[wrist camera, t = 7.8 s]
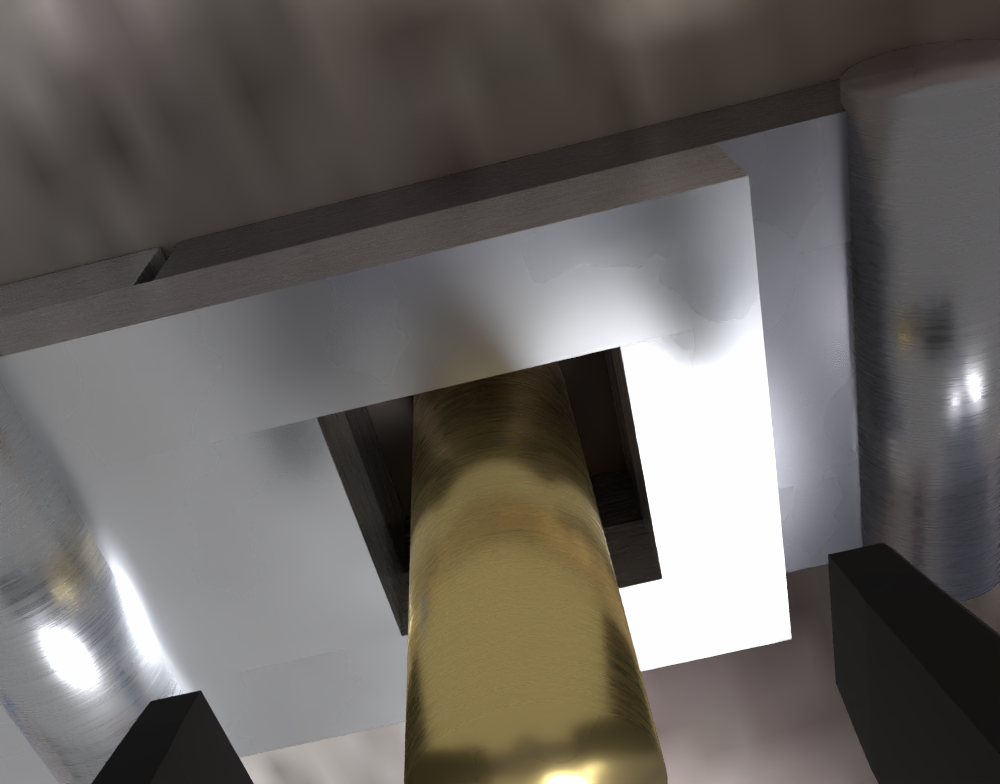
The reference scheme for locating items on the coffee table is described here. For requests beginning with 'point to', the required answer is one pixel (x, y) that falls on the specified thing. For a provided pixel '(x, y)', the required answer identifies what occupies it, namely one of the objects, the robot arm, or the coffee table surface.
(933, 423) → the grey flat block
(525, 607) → the brass pin
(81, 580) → the silver hollow frame
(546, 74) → the coffee table surface
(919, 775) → the robot arm
